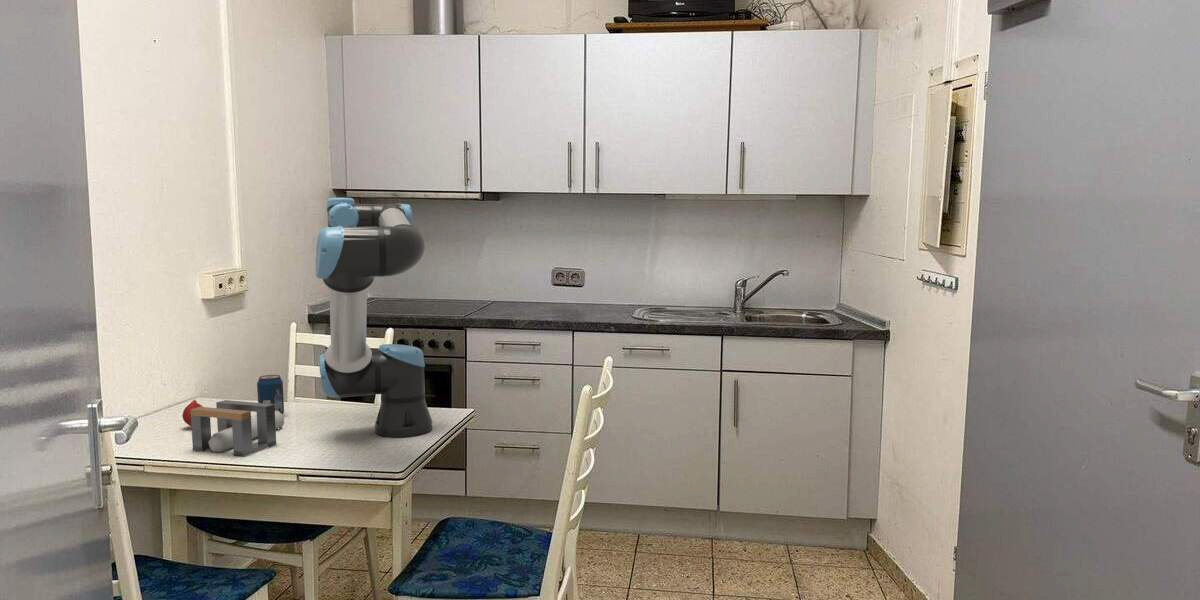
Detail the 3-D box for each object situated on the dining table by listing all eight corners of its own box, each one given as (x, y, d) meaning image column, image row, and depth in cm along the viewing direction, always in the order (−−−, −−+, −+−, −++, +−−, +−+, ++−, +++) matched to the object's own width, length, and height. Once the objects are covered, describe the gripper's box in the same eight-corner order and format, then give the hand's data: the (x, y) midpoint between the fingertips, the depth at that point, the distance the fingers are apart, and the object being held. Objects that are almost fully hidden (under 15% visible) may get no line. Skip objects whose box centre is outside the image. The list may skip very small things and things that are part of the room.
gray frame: (276, 444, 202) (274, 404, 201) (243, 456, 191) (241, 414, 190) (227, 439, 207) (225, 399, 206) (192, 450, 197) (190, 409, 196)
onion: (180, 431, 216) (178, 402, 215) (187, 426, 222) (185, 397, 221) (203, 430, 217) (201, 401, 216) (209, 424, 223) (207, 396, 222)
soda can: (263, 414, 235) (261, 374, 234) (287, 413, 235) (285, 374, 234) (254, 420, 228) (252, 379, 227) (279, 419, 228) (277, 378, 227)
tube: (224, 439, 193) (286, 414, 218) (206, 431, 194) (270, 407, 219) (220, 459, 194) (282, 432, 218) (201, 451, 195) (265, 425, 219)
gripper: (346, 251, 233) (349, 330, 236) (316, 253, 221) (320, 336, 223) (367, 251, 231) (370, 331, 233) (339, 253, 219) (342, 337, 221)
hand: (346, 334), depth 228 cm, fingers closed
